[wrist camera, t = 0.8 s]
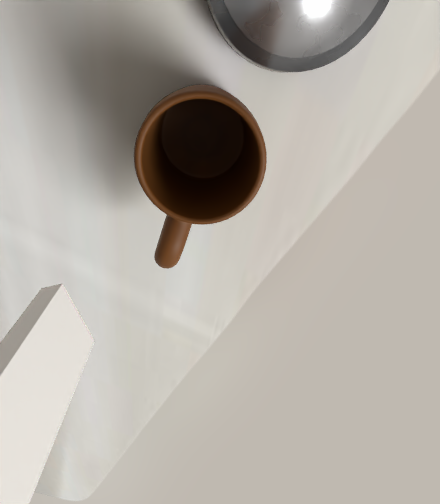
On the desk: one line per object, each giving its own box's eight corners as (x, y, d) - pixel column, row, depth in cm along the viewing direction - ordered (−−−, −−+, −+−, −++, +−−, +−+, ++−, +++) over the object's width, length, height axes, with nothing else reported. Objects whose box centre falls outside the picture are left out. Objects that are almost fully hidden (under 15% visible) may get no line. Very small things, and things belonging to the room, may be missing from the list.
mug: (211, 237, 30) (213, 297, 22) (131, 211, 29) (101, 265, 21) (265, 106, 25) (293, 122, 17) (171, 66, 24) (151, 61, 15)
